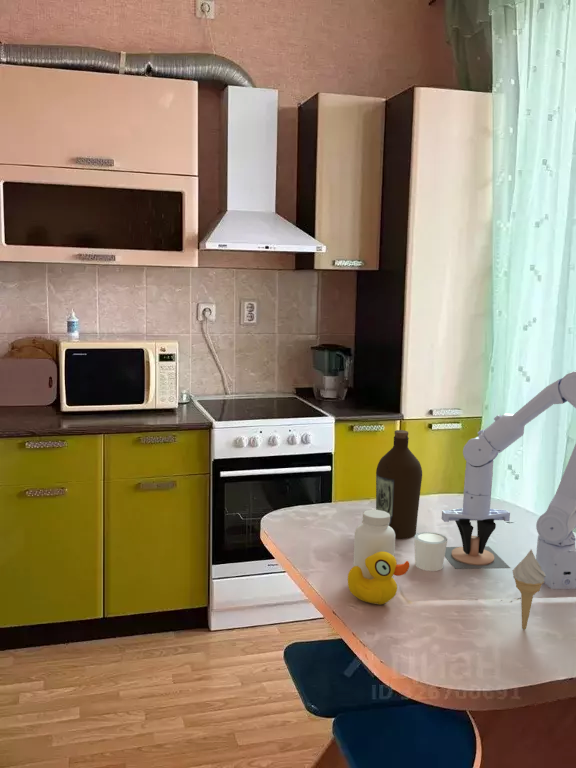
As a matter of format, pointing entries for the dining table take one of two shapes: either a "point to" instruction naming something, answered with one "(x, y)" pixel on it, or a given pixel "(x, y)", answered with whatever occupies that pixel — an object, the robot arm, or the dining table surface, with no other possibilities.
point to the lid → (473, 554)
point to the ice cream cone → (528, 583)
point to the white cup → (429, 550)
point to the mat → (459, 565)
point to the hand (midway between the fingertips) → (473, 552)
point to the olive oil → (399, 486)
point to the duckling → (376, 578)
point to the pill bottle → (372, 538)
